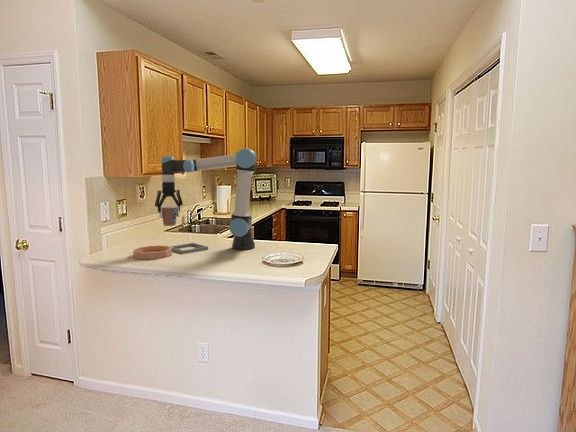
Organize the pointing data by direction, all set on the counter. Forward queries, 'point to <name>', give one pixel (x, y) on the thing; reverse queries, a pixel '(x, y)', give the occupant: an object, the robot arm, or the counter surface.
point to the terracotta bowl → (152, 252)
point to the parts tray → (200, 248)
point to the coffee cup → (169, 215)
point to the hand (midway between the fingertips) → (169, 217)
